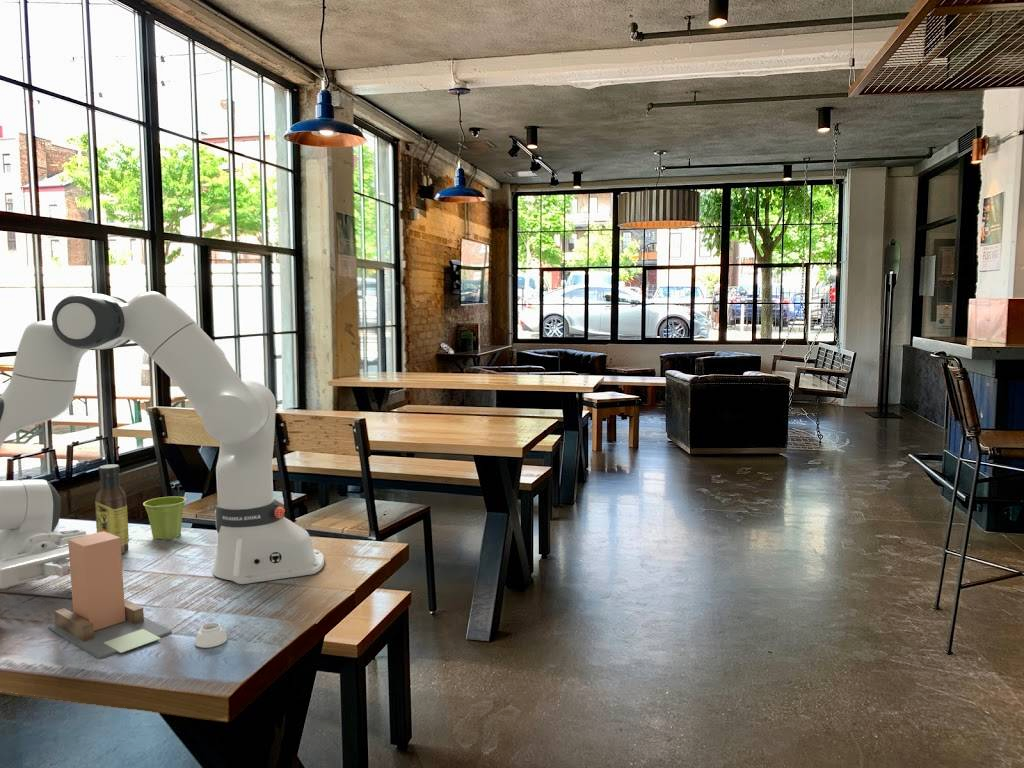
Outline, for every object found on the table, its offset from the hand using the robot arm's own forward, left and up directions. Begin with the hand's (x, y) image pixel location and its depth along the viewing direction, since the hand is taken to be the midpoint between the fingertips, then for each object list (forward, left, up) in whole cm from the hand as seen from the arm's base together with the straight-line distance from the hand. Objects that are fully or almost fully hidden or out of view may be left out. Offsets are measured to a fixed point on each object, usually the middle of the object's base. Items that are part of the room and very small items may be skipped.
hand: (68, 570), depth 142 cm
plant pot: (-7, -43, -8) cm, 44 cm away
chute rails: (-7, +9, -7) cm, 14 cm away
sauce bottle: (+2, -33, -8) cm, 34 cm away
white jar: (-27, +20, -8) cm, 35 cm away
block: (-7, +9, -7) cm, 14 cm away
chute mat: (-10, +12, -7) cm, 18 cm away
